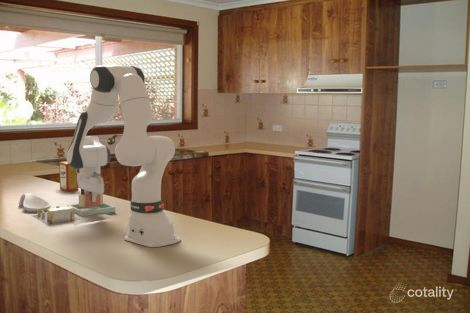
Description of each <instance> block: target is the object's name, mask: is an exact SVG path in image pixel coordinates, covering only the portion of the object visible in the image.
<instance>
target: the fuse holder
mask: <svg viewBox="0 0 470 313" xmlns="http://www.w3.org/2000/svg"><path fill="white" fill-rule="evenodd" d="M36 213H37V214H34V215H33V214H32V215H31V217H32V218H34V219H36V220H38V221H39V222H42V223H44V224H45V225H46V226H49V225H55V224H61V223H66V222H73V221H79V220H81V219H80V218H79V217H76V216H75V214H76V213H74V208H73V207H71V206H68V207H67V206H63V207H62V206H61V207H60V206H59V205H57V206H56V207H55V208H49V209H47V211H42V212H41V209H37V212H36Z"/></svg>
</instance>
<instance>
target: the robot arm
mask: <svg viewBox="0 0 470 313" xmlns="http://www.w3.org/2000/svg"><path fill="white" fill-rule="evenodd" d="M145 79H146V78H145V74H144V72H143V70H142V69H141V68H139V67H137V66H133V65H129V66H128V65H122V64H121V65H119V64H109V65H104V64H102V65H95V66H94V67H93V68H92V69H91V71H90V74H89V80H90V81H89V82H90V86H91V87H92V90H91V93H90V94H91V95H90V101H89V104H88V106H87V107H86V109H85V110H83V111H82V112H81V113H80V115H79V117H78V120H77V123H76V127H75V130H74V132H73V136H72V139H71V142H70V145H69V147H68V150H67V153H66V162H67V163H68V164H69V165H70V166H71V167H72V168H74V169H76V173H78V174H77V183H78V189H80V190H81V189H84V192H85V194H90V192H92V198H91V201H92V202H95V201H96V197H97V194H103V195H104V193H105V184H104V183H105V182H104V178H103V177H102V176H101V175H102V174H101V167H104V166H106V165H108V164H109V162H110V161H111V150H110V148H109V147H108V146H106V145H104V144H102V142H100V137H98V136H96V135H87V134H88V131H89V130H91V129H92V128H93V127H96V126H97V125H100V124H104V123H106V122H108V121H110V120H111V119H112V118H114V116H115V115H116V113H117V110H118V103H120V107H121V108H120V109H121V113H122V117H123V118H122V119H123V126H124V127H123V132H122V136H121V138H120V139H119V141H118V142H117V143H116V146H115V149H114V154H115V158H116V160H117V162H118V163H119V164H120V165H121V166H127V167H140V166H141V167H140V170H139V172H138V174H137V173H136V175H135V176H134V177H133V178H132V181H131V200H130V204H129V206H130V210H131V212H130V214H129V216H128V219H127V231H126V235H125V236H124V241H128V242H131V243H135V244H138V245H142V246H144V247H148V248H158V247H164V246H169V245H173V244H176V243H179V242H181V241H182V240H181V239H182V238H181V237H180V236H178V235H176V234H175V224H174V221H173V220H171V219H170V217H168V215H167V214H166V212H165V211H164V210H165V207H164V206H165V204H164V203H163V200H162V198H161V197H162V194H161V193H162V180H163V179H162V178H163V176H164V172H165V169H166V167H167V165H168V163H169V162H170V161H171V160H172V159H173V158H174V157H175V156H174V155H175V152H176V147H175V142H174V140H173V139H171V137H168V136H164V135H148V133H147V129H148V126H149V125H150V124H151V123H152V122H153V118H154V114H153V111H152V106H151V102H150V101H151V100H150V98H149V97H150V96H149V93H148V90H147V87H146V85H145V81H146V80H145Z"/></svg>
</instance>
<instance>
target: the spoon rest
mask: <svg viewBox="0 0 470 313" xmlns="http://www.w3.org/2000/svg"><path fill="white" fill-rule="evenodd" d="M18 206H19V207H23V208H24V209H25V211H27V212H29V213H37V209H41V213H42V211H45V212H47V209H51V206H52V204H51V203H50V202H49V201H48V200H45V199H44V198H42V197H40V196H38V195H36V194H34V193H32V192H29V193H22V195H21V196H20V198H19V201H18Z"/></svg>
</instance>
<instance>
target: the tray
mask: <svg viewBox="0 0 470 313" xmlns="http://www.w3.org/2000/svg"><path fill="white" fill-rule="evenodd" d="M68 206H71V207H73V208H74V214H77V215H79V216H81V217H87V216H93V215H100V214H104V215H111V214H115V213H116V206H115V205H112V204H109V203H107V202H104V201H103V204H101V205H94V206H87V207H81V206H79V203H73V204H68V205H67V206H66V207H68ZM84 208H90V209H88V210H82V209H84Z"/></svg>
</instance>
